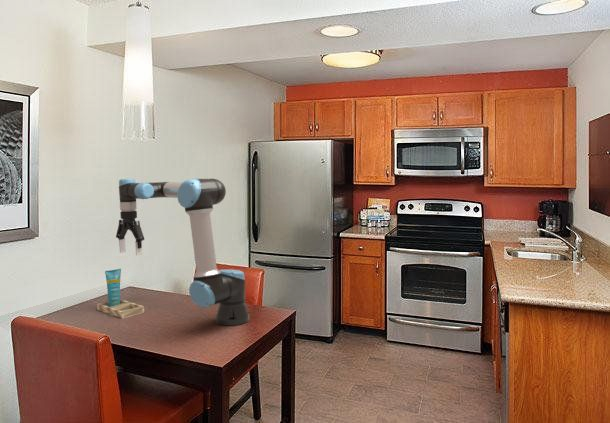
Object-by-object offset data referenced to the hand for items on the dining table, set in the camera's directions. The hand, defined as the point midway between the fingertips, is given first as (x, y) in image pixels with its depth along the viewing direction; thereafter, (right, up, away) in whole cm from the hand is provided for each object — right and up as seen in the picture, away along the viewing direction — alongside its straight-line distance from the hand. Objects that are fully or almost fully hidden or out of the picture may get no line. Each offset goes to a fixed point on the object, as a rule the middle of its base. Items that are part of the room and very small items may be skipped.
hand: (130, 253), depth 230 cm
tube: (-8, -27, 0) cm, 28 cm away
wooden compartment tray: (-4, -28, -3) cm, 28 cm away
